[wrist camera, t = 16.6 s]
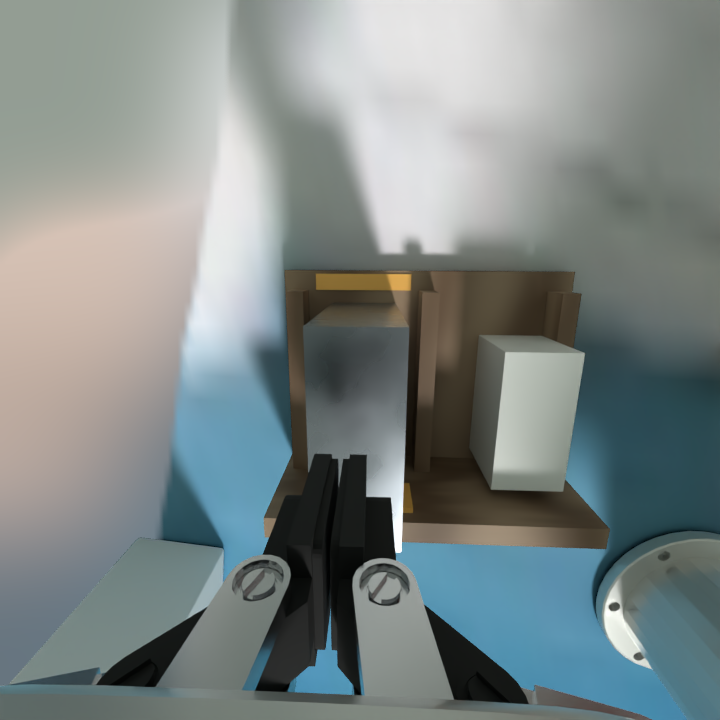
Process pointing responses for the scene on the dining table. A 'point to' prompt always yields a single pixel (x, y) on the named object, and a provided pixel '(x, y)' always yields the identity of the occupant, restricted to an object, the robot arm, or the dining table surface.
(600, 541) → the rack
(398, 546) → the panel
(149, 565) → the milk carton
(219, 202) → the dining table surface
